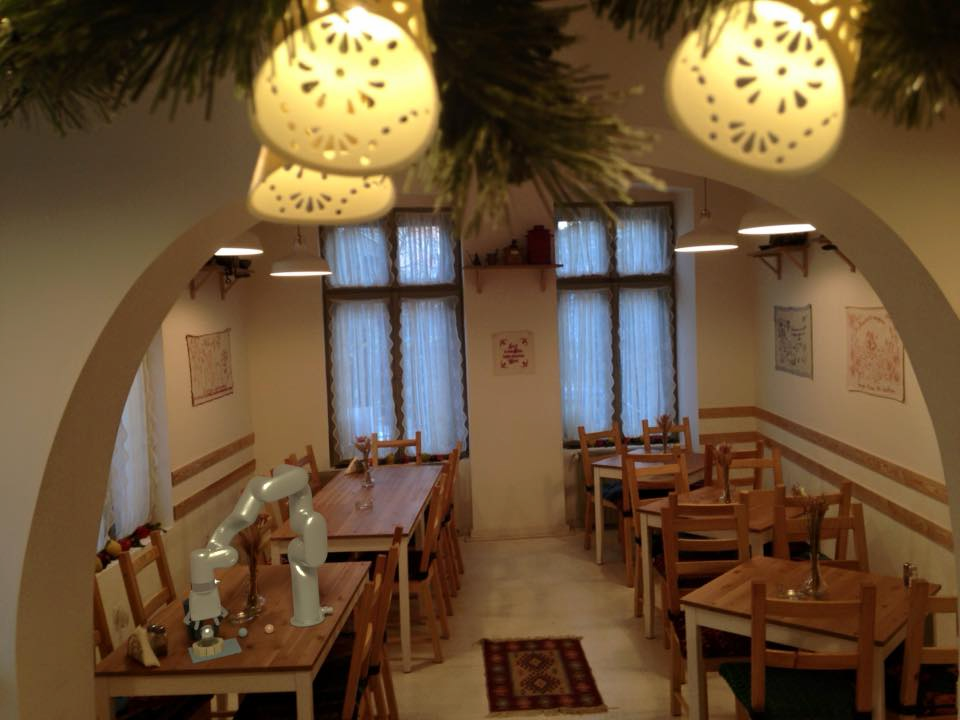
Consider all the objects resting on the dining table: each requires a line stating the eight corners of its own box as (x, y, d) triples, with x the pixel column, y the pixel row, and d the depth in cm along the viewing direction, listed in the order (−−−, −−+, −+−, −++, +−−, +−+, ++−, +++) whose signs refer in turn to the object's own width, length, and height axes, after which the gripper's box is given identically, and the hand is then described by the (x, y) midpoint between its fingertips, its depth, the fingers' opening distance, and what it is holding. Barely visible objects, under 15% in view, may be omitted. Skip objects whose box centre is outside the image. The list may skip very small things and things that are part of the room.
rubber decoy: (246, 634, 300) (246, 625, 300) (248, 637, 297) (247, 628, 297) (237, 636, 299) (237, 627, 299) (239, 639, 296) (238, 630, 296)
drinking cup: (188, 643, 295) (184, 588, 294) (182, 637, 302) (177, 583, 300) (209, 637, 300) (205, 582, 299) (203, 631, 306) (198, 578, 305)
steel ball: (214, 635, 288) (213, 621, 288) (216, 640, 284) (215, 626, 284) (198, 639, 286) (197, 624, 286) (200, 643, 282) (199, 629, 281)
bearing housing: (235, 640, 295) (234, 631, 295) (241, 652, 284) (240, 642, 284) (188, 650, 288) (187, 641, 288) (192, 663, 277) (192, 653, 277)
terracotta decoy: (273, 630, 302) (272, 622, 302) (275, 633, 300) (274, 625, 299) (264, 632, 301) (263, 624, 301) (266, 635, 298) (265, 626, 298)
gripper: (227, 578, 291) (231, 629, 292) (176, 587, 284) (180, 639, 285) (231, 584, 284) (234, 635, 285) (178, 593, 277) (182, 647, 278)
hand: (207, 637), depth 285 cm, fingers closed on steel ball, 5 cm apart
